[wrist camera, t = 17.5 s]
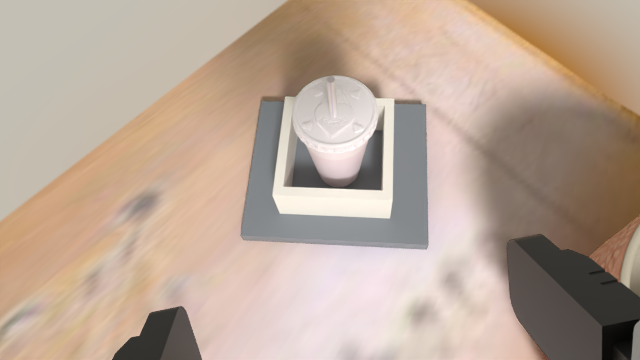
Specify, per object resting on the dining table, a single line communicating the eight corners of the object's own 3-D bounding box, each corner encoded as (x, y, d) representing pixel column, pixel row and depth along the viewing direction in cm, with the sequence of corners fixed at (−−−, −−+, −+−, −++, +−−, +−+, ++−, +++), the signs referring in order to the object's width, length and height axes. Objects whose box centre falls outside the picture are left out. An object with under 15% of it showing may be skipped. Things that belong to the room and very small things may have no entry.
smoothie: (299, 198, 43) (276, 111, 31) (308, 136, 46) (289, 32, 33) (372, 203, 43) (378, 116, 30) (376, 140, 45) (383, 35, 33)
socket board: (243, 240, 43) (229, 219, 39) (263, 107, 49) (253, 75, 45) (426, 249, 42) (434, 228, 37) (424, 111, 48) (431, 78, 43)
